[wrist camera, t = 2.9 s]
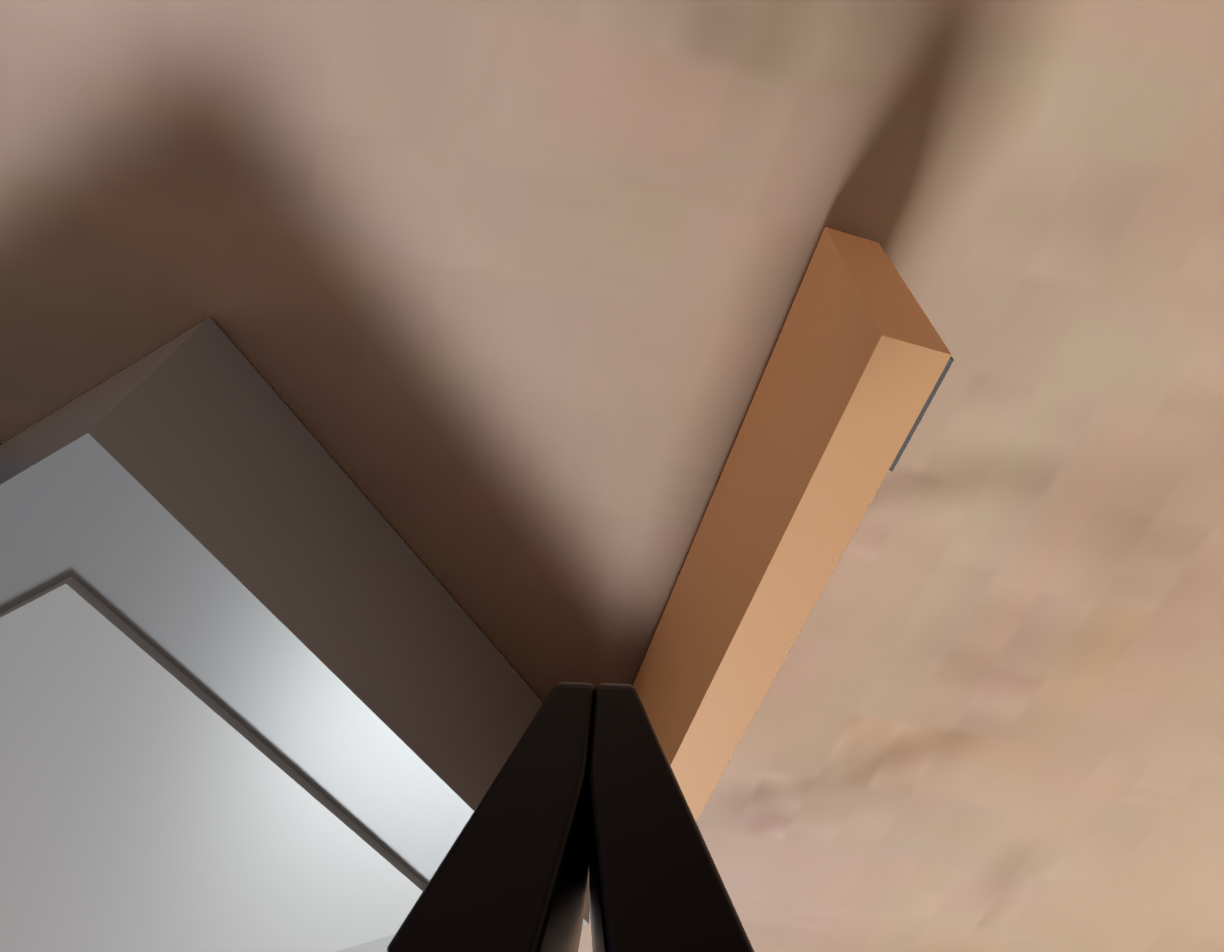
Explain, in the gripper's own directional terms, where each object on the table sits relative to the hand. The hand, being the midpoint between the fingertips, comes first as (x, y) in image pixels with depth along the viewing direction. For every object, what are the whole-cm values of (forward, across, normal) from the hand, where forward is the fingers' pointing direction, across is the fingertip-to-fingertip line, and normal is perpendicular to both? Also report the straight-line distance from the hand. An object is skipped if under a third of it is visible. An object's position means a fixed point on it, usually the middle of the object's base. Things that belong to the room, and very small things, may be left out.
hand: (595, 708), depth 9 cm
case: (+6, +10, +7) cm, 14 cm away
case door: (+6, -2, +2) cm, 6 cm away
